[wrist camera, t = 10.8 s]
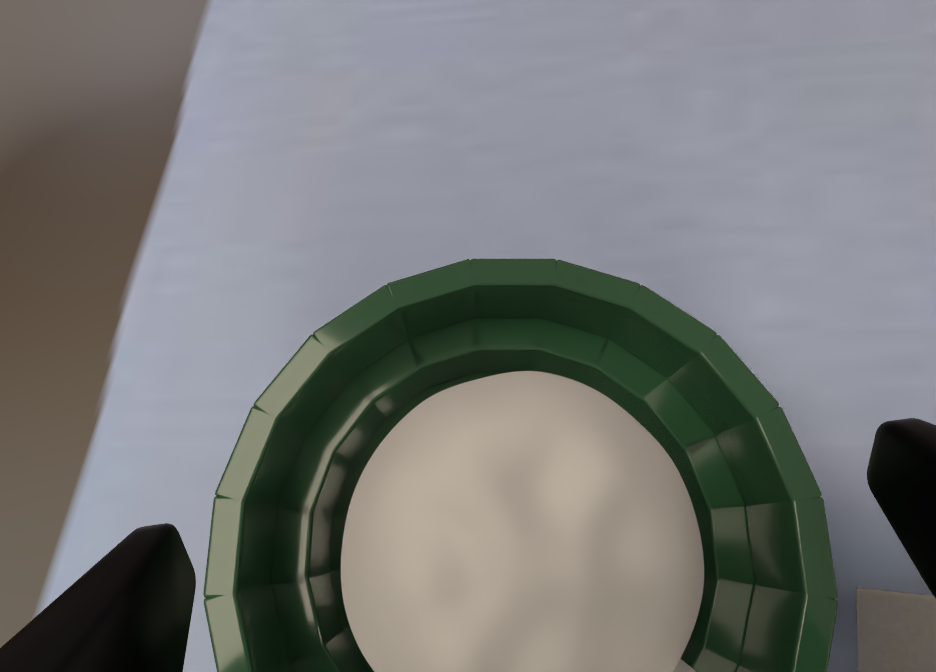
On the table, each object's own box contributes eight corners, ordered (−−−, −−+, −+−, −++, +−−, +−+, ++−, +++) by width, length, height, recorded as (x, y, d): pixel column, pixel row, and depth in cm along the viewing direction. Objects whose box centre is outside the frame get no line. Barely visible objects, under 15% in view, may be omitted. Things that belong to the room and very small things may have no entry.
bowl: (453, 919, 14) (444, 1110, 10) (200, 491, 17) (94, 475, 12) (824, 596, 16) (971, 622, 11) (544, 255, 19) (569, 161, 14)
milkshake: (538, 713, 15) (658, 1031, 5) (365, 552, 16) (207, 582, 6) (655, 552, 16) (932, 582, 6) (485, 411, 17) (503, 252, 7)
